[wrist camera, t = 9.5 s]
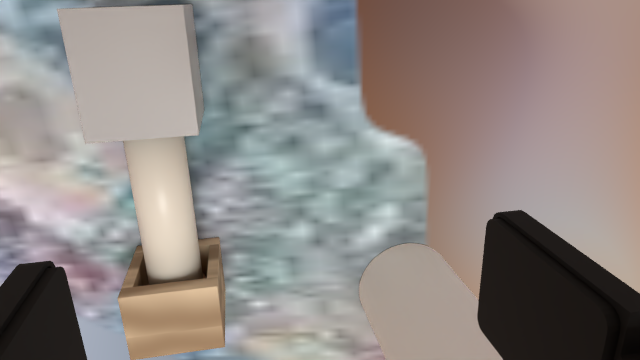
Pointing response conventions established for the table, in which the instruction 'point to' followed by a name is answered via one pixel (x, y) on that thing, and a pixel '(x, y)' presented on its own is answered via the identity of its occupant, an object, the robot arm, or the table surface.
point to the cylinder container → (421, 307)
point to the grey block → (134, 71)
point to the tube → (164, 208)
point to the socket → (174, 308)
